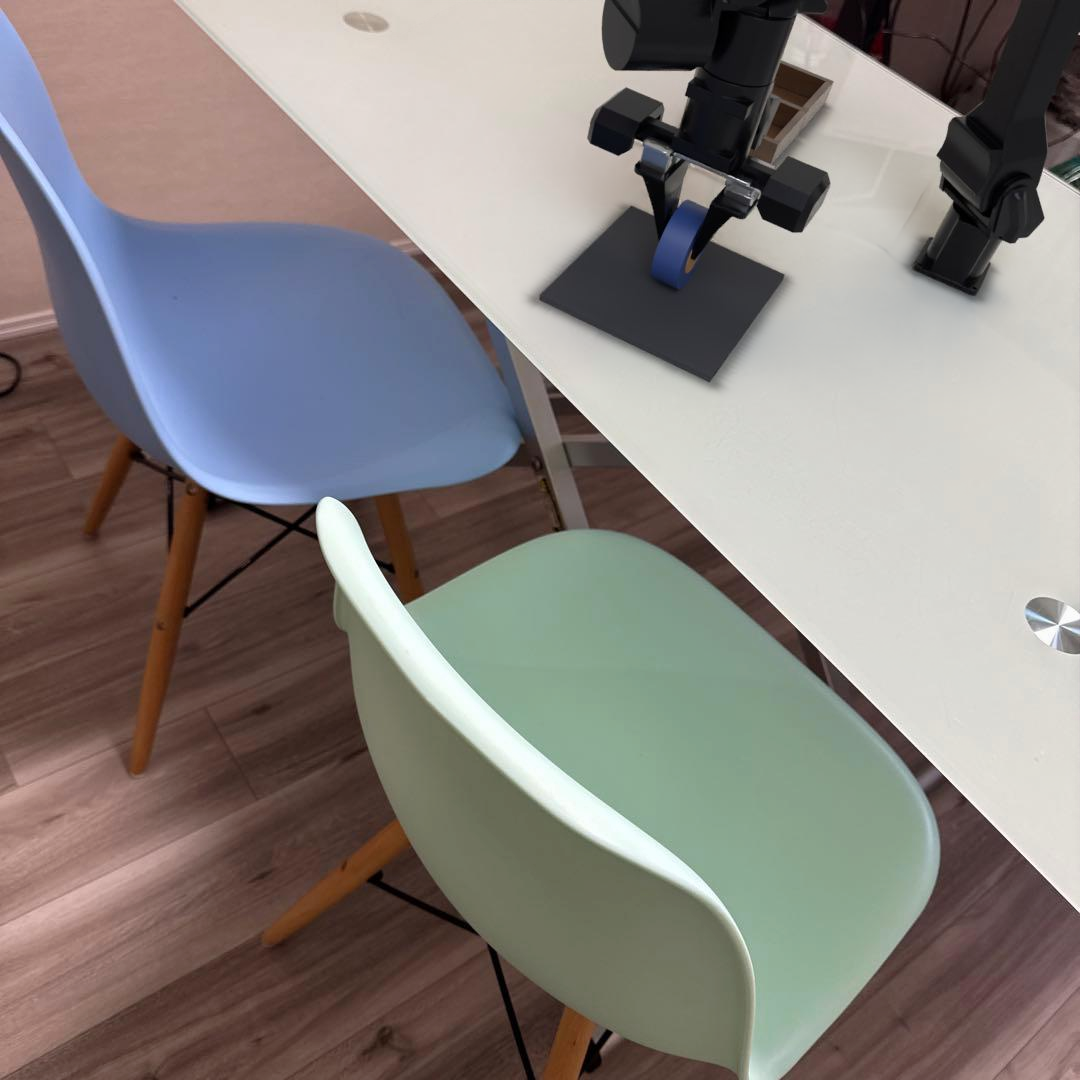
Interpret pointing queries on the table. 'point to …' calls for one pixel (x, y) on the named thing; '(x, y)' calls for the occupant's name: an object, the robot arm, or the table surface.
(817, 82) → the tray
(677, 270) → the tape
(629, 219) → the mat
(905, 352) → the table surface
